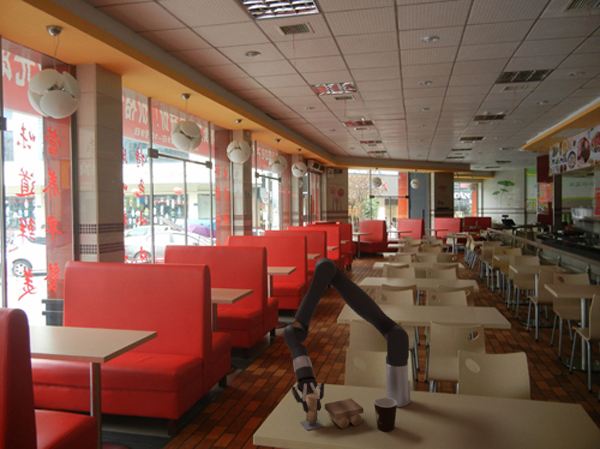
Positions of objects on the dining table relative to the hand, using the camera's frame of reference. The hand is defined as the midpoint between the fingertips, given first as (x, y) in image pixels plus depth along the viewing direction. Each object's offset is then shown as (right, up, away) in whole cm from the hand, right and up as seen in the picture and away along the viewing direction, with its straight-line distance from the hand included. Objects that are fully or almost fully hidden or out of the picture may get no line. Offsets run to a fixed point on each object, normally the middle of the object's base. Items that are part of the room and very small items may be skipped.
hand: (313, 410), depth 180 cm
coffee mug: (+28, -6, 0) cm, 29 cm away
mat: (0, -6, +2) cm, 7 cm away
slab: (+12, -6, +4) cm, 14 cm away
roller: (0, -5, +2) cm, 5 cm away
